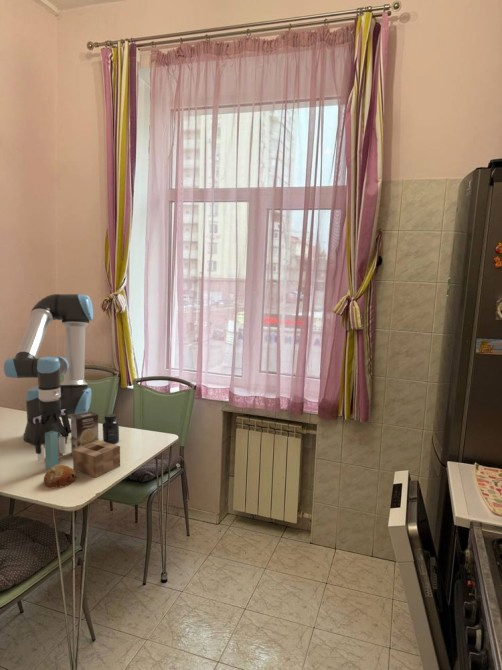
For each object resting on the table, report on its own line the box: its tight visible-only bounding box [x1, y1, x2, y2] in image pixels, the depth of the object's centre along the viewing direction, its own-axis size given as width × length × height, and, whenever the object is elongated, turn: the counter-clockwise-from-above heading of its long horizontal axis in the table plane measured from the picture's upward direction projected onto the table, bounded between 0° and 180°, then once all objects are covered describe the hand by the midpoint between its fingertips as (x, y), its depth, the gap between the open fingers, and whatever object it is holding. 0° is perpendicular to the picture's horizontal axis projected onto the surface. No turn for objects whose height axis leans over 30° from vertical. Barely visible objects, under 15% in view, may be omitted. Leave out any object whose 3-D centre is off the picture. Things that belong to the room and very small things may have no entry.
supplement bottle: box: [102, 413, 120, 445], centre depth 198 cm, size 7×7×12 cm
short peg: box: [58, 440, 64, 458], centre depth 182 cm, size 3×3×6 cm
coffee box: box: [70, 410, 99, 454], centre depth 186 cm, size 9×6×16 cm
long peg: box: [44, 431, 60, 470], centre depth 170 cm, size 3×3×14 cm
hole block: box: [72, 439, 121, 479], centre depth 172 cm, size 12×12×8 cm
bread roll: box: [43, 463, 77, 488], centre depth 160 cm, size 10×10×8 cm
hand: (52, 456), depth 171 cm, fingers open, 9 cm apart
